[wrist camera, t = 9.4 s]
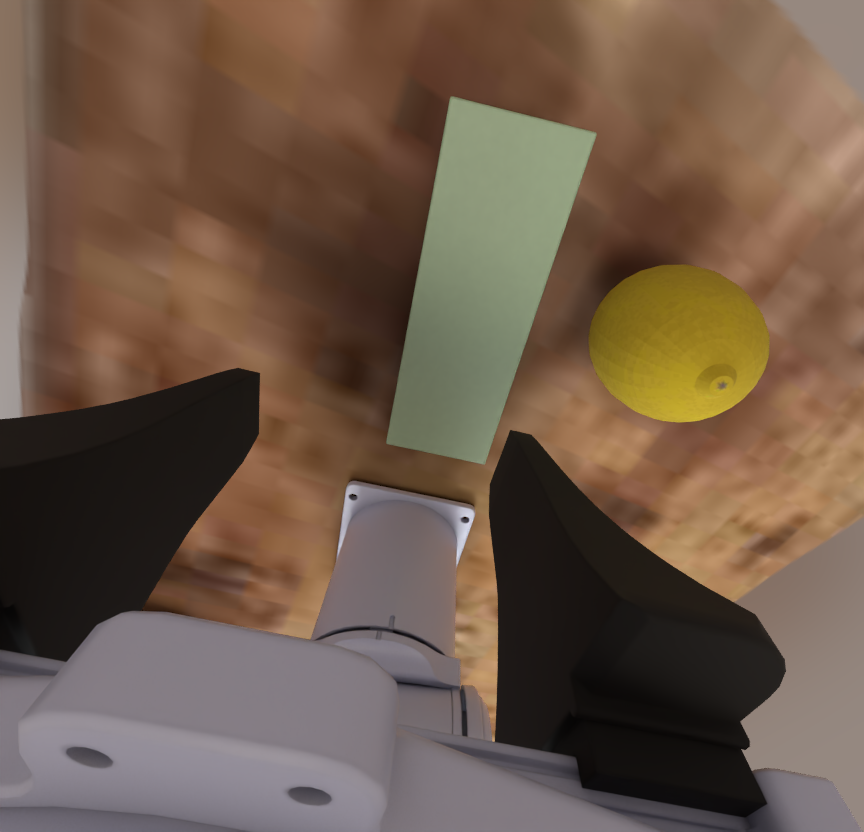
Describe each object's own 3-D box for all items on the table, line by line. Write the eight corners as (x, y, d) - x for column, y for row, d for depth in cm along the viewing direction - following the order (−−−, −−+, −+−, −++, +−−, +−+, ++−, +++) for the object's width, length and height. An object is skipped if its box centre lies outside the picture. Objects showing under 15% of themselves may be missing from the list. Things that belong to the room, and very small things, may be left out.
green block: (482, 433, 24) (484, 465, 21) (394, 414, 23) (385, 444, 21) (577, 139, 17) (597, 132, 14) (452, 107, 16) (450, 95, 14)
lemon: (722, 281, 19) (874, 343, 12) (644, 383, 21) (730, 483, 14) (616, 227, 18) (711, 260, 11) (548, 340, 21) (591, 424, 14)
